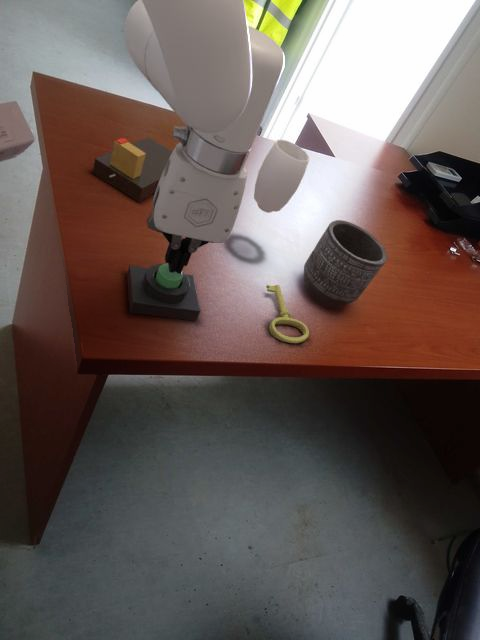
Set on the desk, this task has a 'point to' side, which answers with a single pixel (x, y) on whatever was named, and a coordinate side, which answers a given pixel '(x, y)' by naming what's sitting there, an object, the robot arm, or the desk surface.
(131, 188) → the plate
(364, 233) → the planter
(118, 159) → the block
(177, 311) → the button box
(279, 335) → the key
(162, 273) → the button
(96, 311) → the desk surface
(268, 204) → the cup
